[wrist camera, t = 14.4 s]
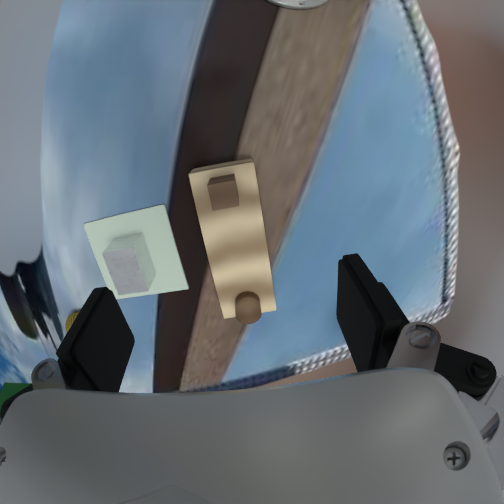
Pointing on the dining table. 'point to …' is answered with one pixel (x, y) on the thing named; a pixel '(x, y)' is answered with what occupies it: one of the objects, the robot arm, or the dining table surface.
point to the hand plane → (234, 237)
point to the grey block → (130, 264)
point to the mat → (158, 243)
